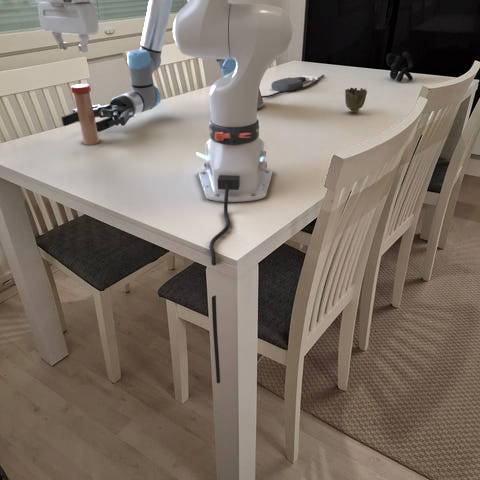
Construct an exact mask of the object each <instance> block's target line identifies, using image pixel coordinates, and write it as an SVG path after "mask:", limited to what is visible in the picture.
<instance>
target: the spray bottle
mask: <svg viewBox="0 0 480 480" xmlns="http://www.w3.org/2000/svg"><path fill="white" fill-rule="evenodd" d="M318 78H319V77H316V76H311V75H302V76H297V77H296V76H295V77H286V78H285V77H284V78H280V79H277V80H274V81H272V82H271V85H270V87H271V89H272V90H275V91H278V92H280V91H285V90H288V91H290V90H293V89H296V88H300V87H304V83H306V81H307V82H308V81H311V82H312V81H315V80H318ZM318 81H319V80H318Z"/></svg>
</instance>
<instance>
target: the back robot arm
mask: <svg viewBox="0 0 480 480" xmlns="http://www.w3.org/2000/svg"><path fill="white" fill-rule="evenodd" d="M173 2H174V0H148V4H147V10H146V16H145V21H144V26H143V30H142V36H141V40H140V45H139V46H140V47H139V49H135V50H134V49H133V50H129V51H128V52H127V54H126V57H127V59H126V60H127V61H126V62H127V66H128V67H127V68H128V74H129V79H130V86H131V91H128V92H126V93H123V94H120V95H118V96H115V97H113V98H112V99H111V100H110V103H109V104H108V103H107V104H105V105H103V104H101V103H98V104H95V105H93V111H94V116H95V118H99V119H101V120H99V121H96V127H97V132H98V133H100V132H103V131H105V130H107V129H110V128H112V127H115V126H119V125H120V126H122V127H124V126H126V124H127V123H128V121H130V119H131V118H135V117H136V116H137V115H139V114H142V113H144V112H147V111H150V110H152V109H154V108H156V107H158V106H159V105H160V103H161V100H162V95H161V92H160V90H159V88H158V87H156V85H154V80H153V74H154V73H156V71H158V70H159V68H160V66H161V64H162V57H161V56H162V52H163V47H164V41H165V39H166V32H167V29H168V28H167V27H168V24H169V19H170V15H171V11H172V5H173ZM186 2H187V3H188V2H189V0H186ZM214 60H215V62H216V63H217V65H218V67H219V68H220V70H221V75H222V77H223V76H225V75H227V74H229V73H231V72H232V71H234V70H235V68H236V61H235V60H232V59H214ZM324 77H325V74H322V75H320V76H318V77H317V78H318V80H313V82H311V83H309V84H306V85H303V86H302V87H300V88H296V89H293V90H290V91H288V90H285V91H277V92H274V93H271V94H268V95H262V93H261V90H260V88H259V92H258V103H257V111H258V110H260V109H262V108H264V100H263V99H265V98H266V99H268V98H272V97H274V96H276V95H280V94H283V93H290V92H295V91H299V90H300V91H301V90H304V89H307V88H308V87H311V86H313V85H315V84H316V83H317V82H318V81H320V80H321V79H322V78H324ZM60 117H61V122H62V126H63V127H66V126H69V125H72V124H74V123H77V122H79V117H78V113H77V108H74V109H72V112H71V113H68V114H65V115H63V116H60Z"/></svg>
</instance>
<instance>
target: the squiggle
mask: <svg viewBox="0 0 480 480" xmlns="http://www.w3.org/2000/svg"><path fill="white" fill-rule="evenodd" d="M401 57H402V59H401ZM391 59H392V60H391ZM393 60H394V61H393ZM385 61H386V64H387V67H390V68H391V70H390V72H389V78H390V79H391V80H395V79H396V81H397V82H399V83H400V82H402V81H403V79H404V76H406V78H407V80H408V81H412V80H413V79H414V77H413V75H412V74H411V73H410V72H409V71H410V70H412V69H413V68H414V64H413V61H412V57H411V54H410V53H409V52H408V51H403V53H402V54H401V55H396V54H394V53H392V52H390V53H387V55H386V57H385ZM406 62H407V65H408V66H407V67H405V66H404V65H405V64H406ZM400 70H401V71H400Z"/></svg>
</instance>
